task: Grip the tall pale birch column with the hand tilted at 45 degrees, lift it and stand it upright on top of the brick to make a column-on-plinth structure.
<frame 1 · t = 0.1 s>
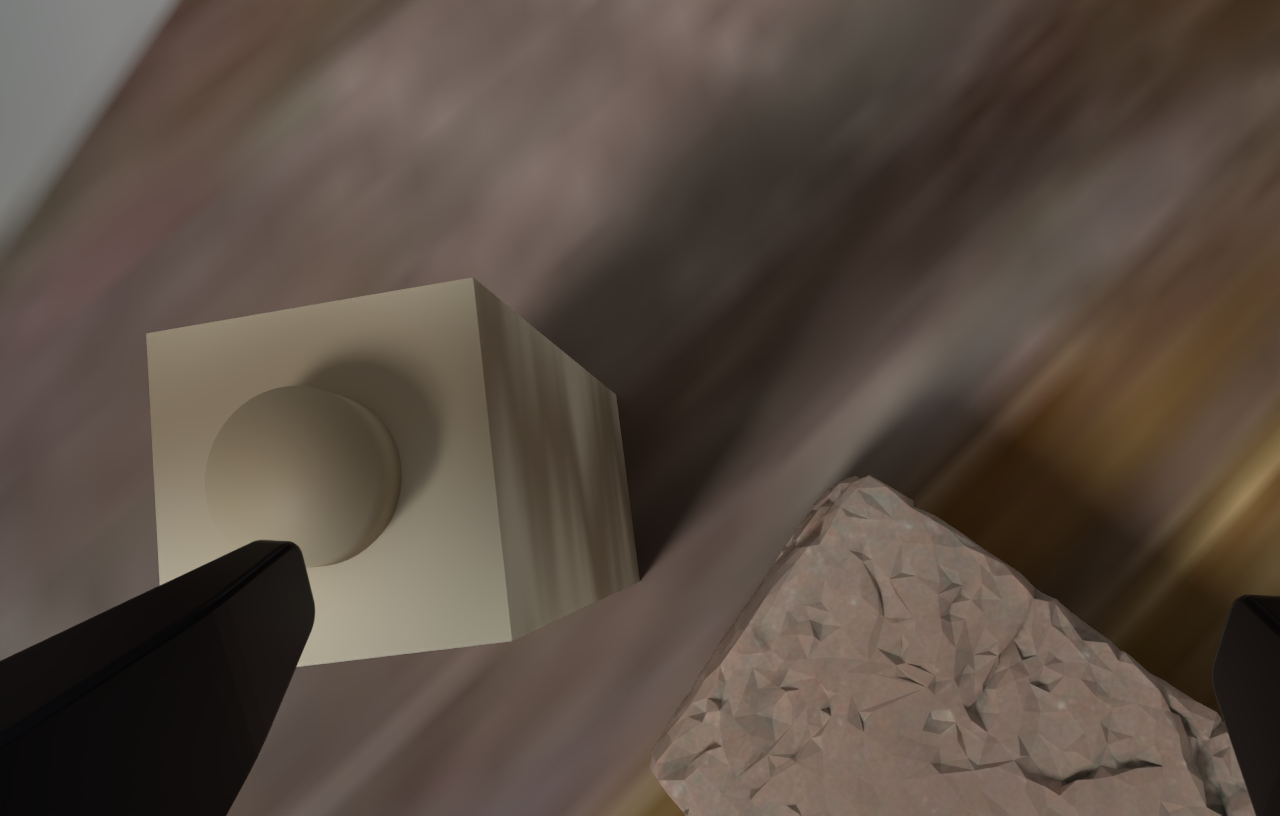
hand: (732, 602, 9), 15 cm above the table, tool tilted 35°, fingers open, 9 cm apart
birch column: (537, 499, 24), on the table
brick: (1027, 798, 22), on the table
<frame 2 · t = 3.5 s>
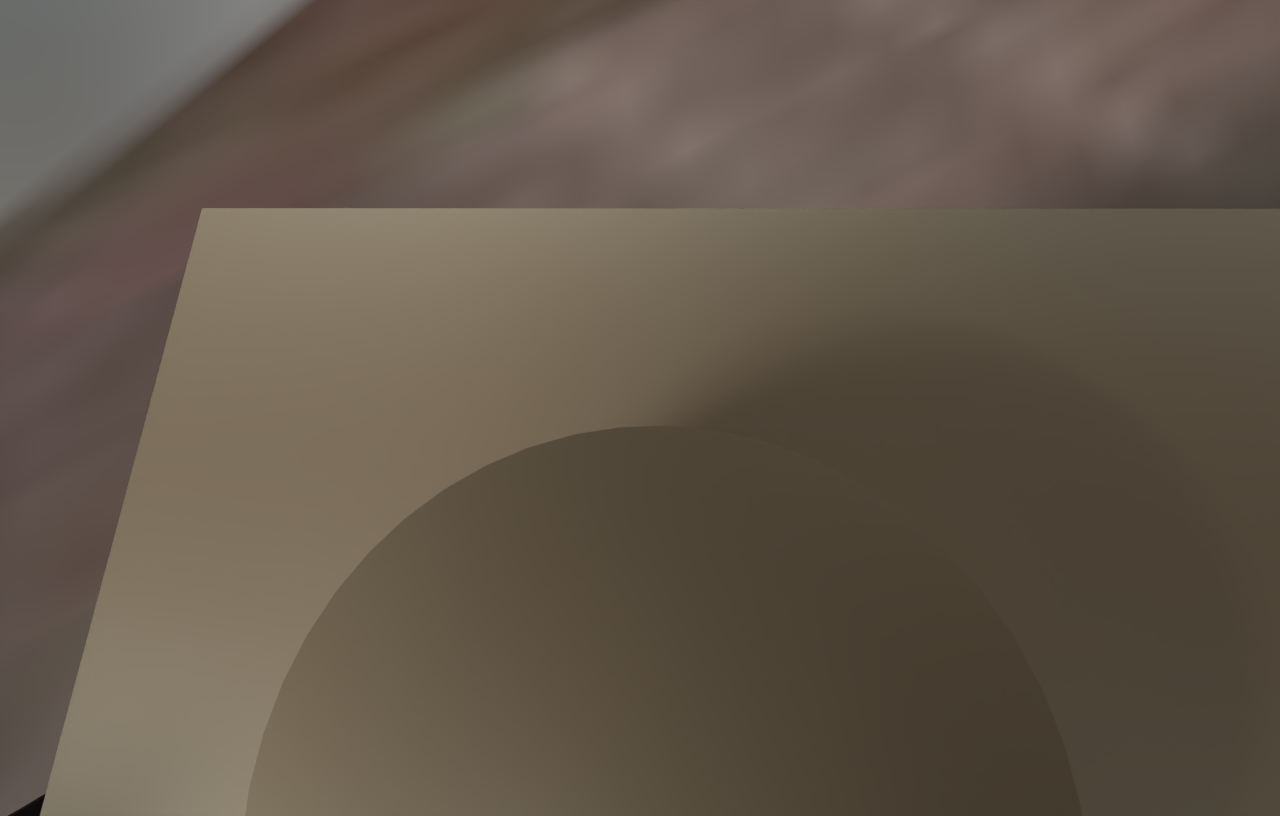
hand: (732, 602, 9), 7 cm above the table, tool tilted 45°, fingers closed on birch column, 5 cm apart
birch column: (741, 740, 15), on the table, touching gripper
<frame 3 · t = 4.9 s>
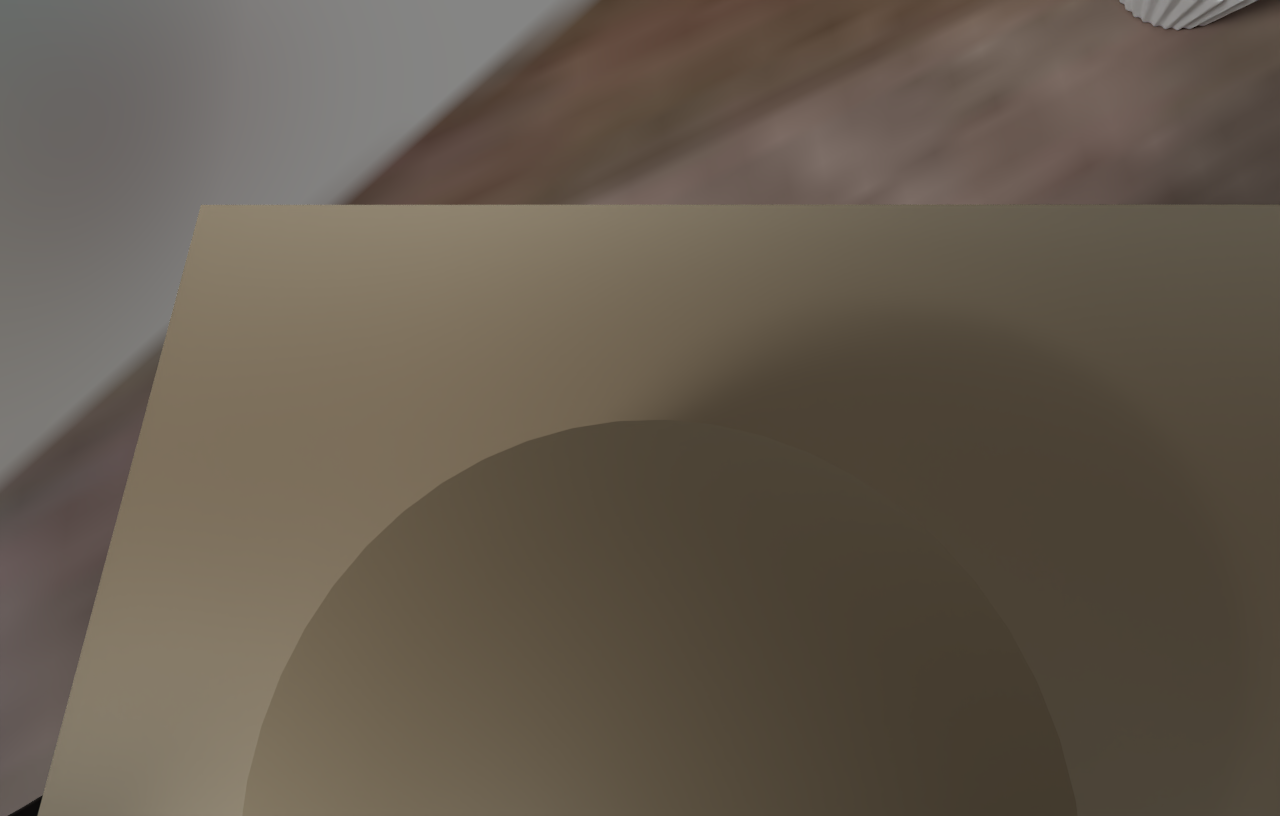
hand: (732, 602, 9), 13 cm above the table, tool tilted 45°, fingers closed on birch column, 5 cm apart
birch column: (740, 738, 15), point 7 cm above the table, touching gripper
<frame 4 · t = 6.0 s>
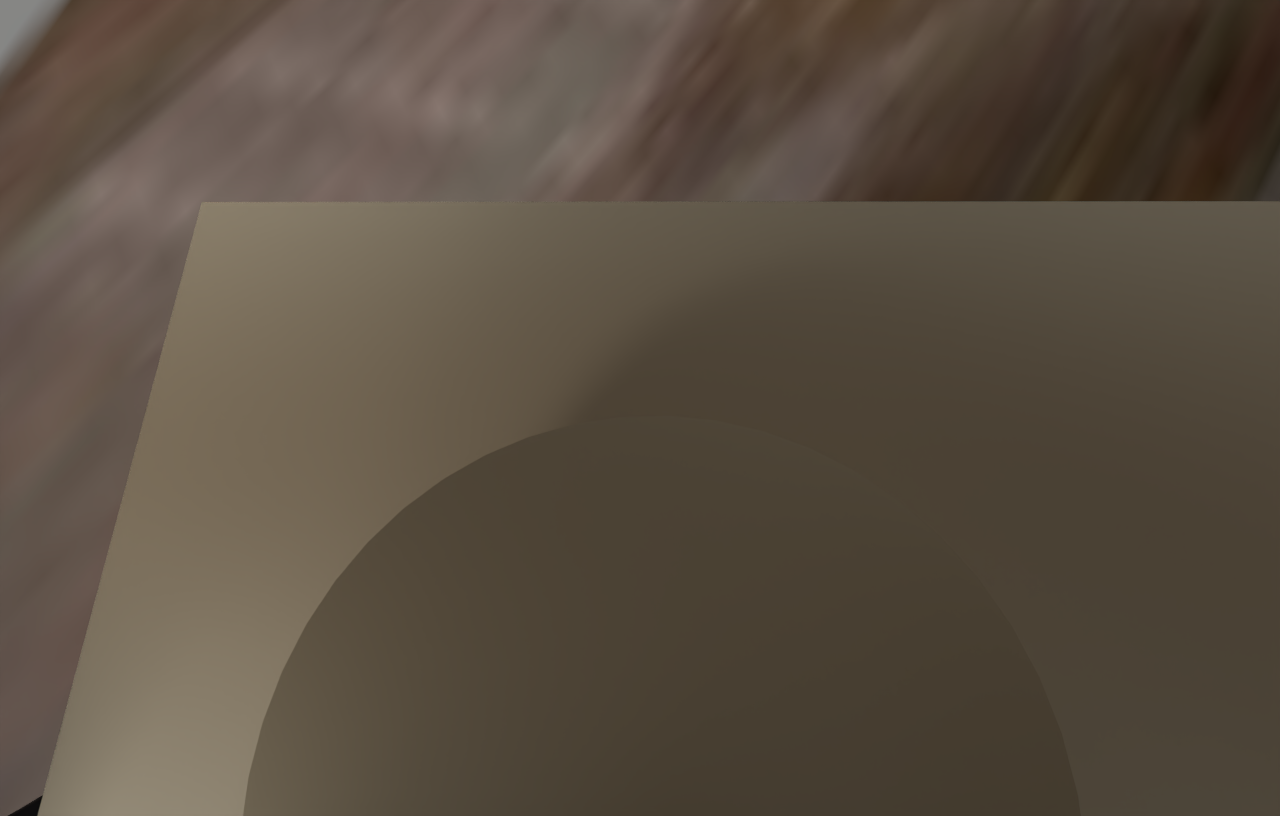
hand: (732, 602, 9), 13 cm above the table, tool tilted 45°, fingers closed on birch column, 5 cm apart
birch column: (740, 738, 15), point 7 cm above the table, touching gripper
when the fingers open (12 cm above the table, at t = 6.7 s): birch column drops 2 cm, resting on brick.
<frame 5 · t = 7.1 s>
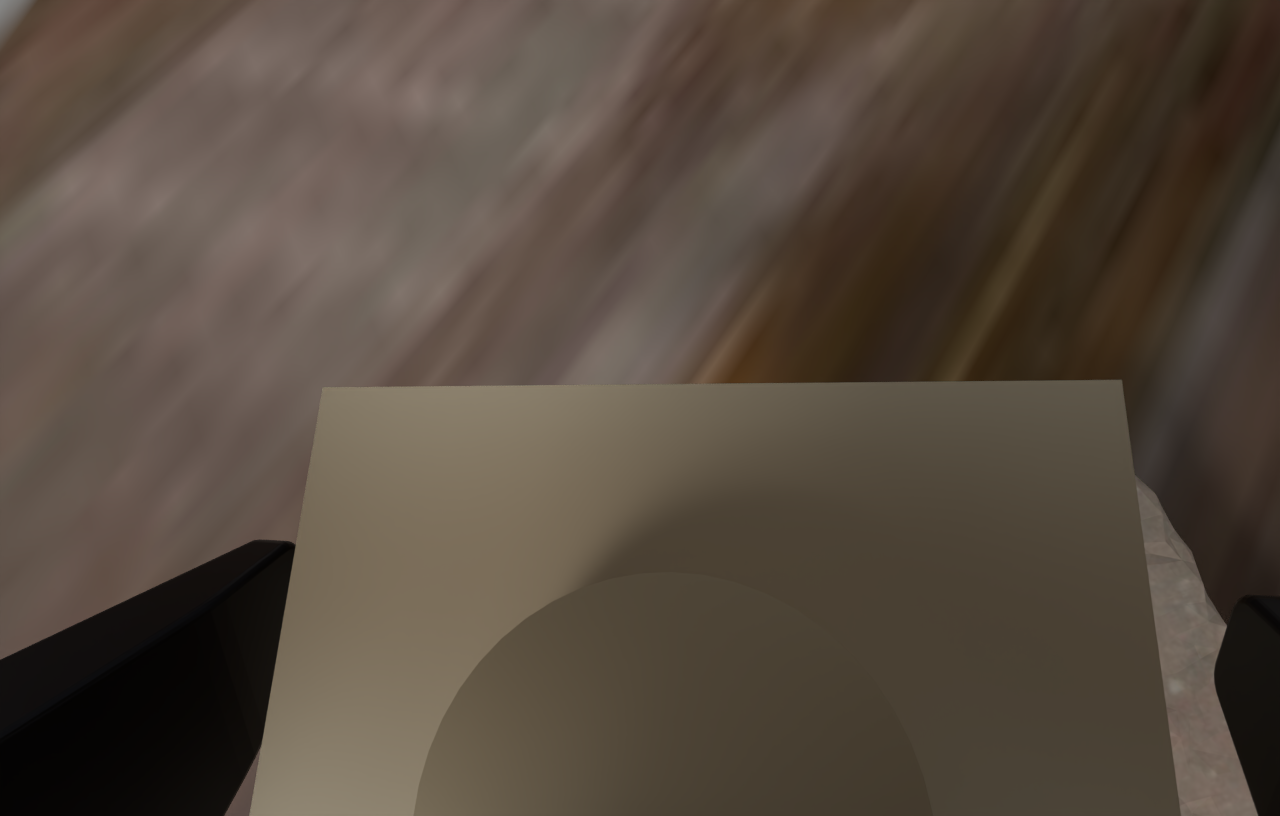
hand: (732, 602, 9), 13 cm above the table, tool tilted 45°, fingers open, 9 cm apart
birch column: (753, 752, 16), point 4 cm above the table, touching brick
brick: (821, 790, 20), on the table, touching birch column
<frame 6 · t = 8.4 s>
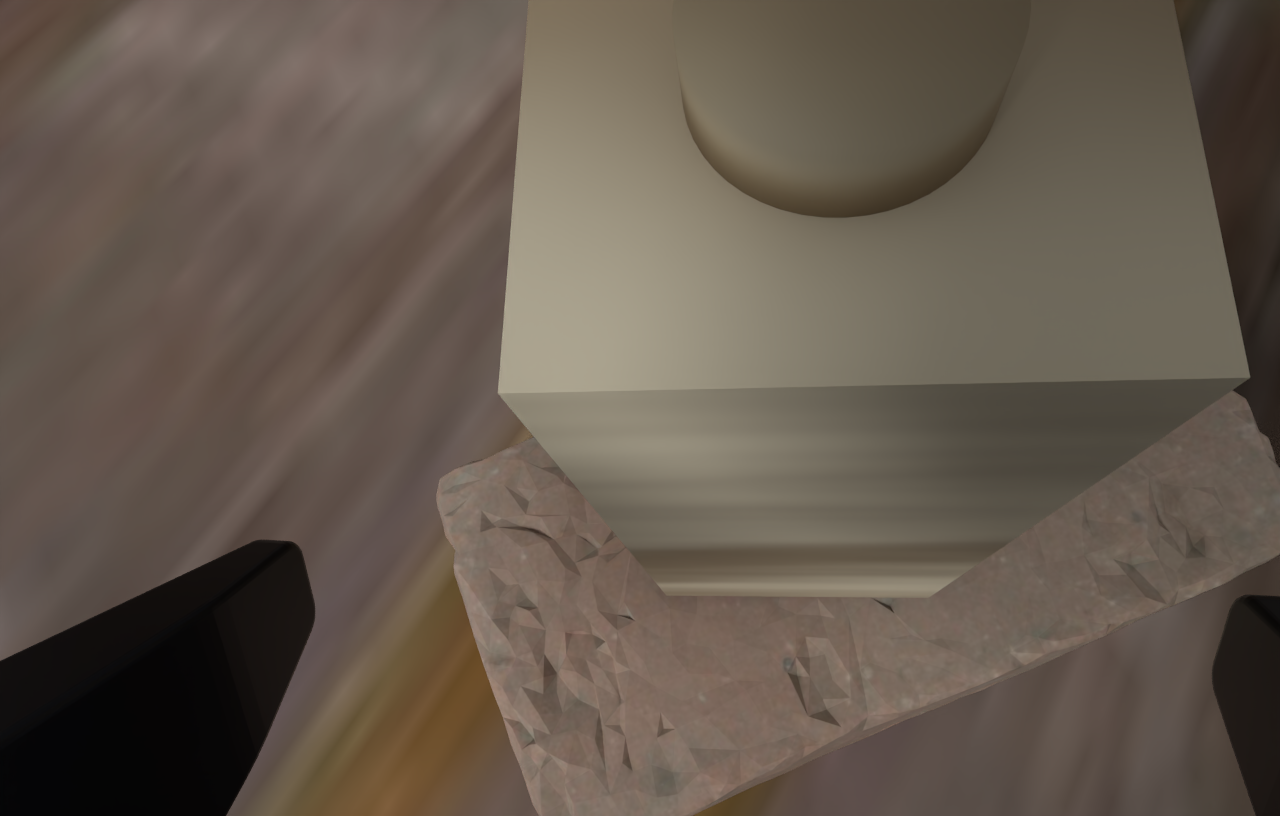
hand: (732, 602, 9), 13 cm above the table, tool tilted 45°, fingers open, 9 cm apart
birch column: (791, 471, 18), point 4 cm above the table, touching brick
brick: (836, 540, 22), on the table, touching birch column
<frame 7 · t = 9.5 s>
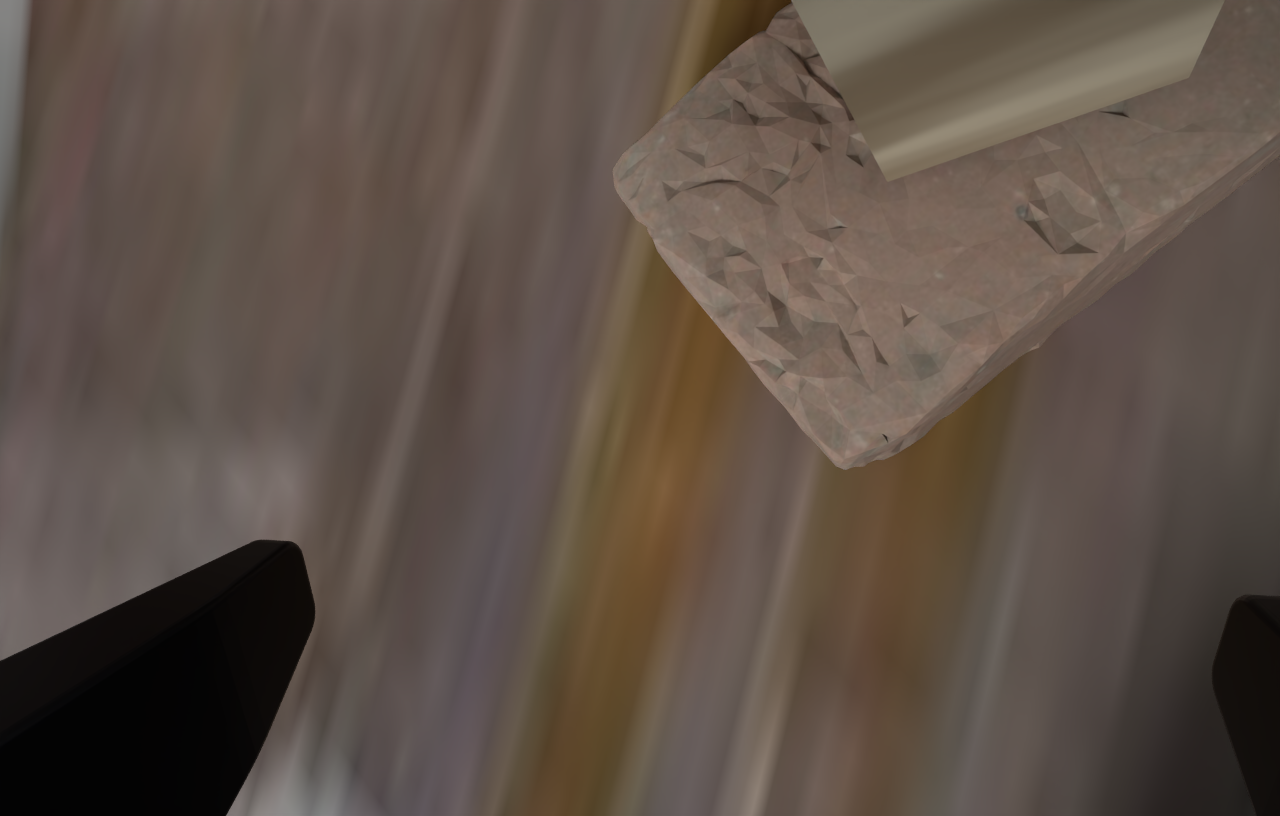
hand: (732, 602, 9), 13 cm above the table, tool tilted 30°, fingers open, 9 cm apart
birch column: (991, 3, 16), point 4 cm above the table, touching brick
brick: (1042, 102, 20), on the table, touching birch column
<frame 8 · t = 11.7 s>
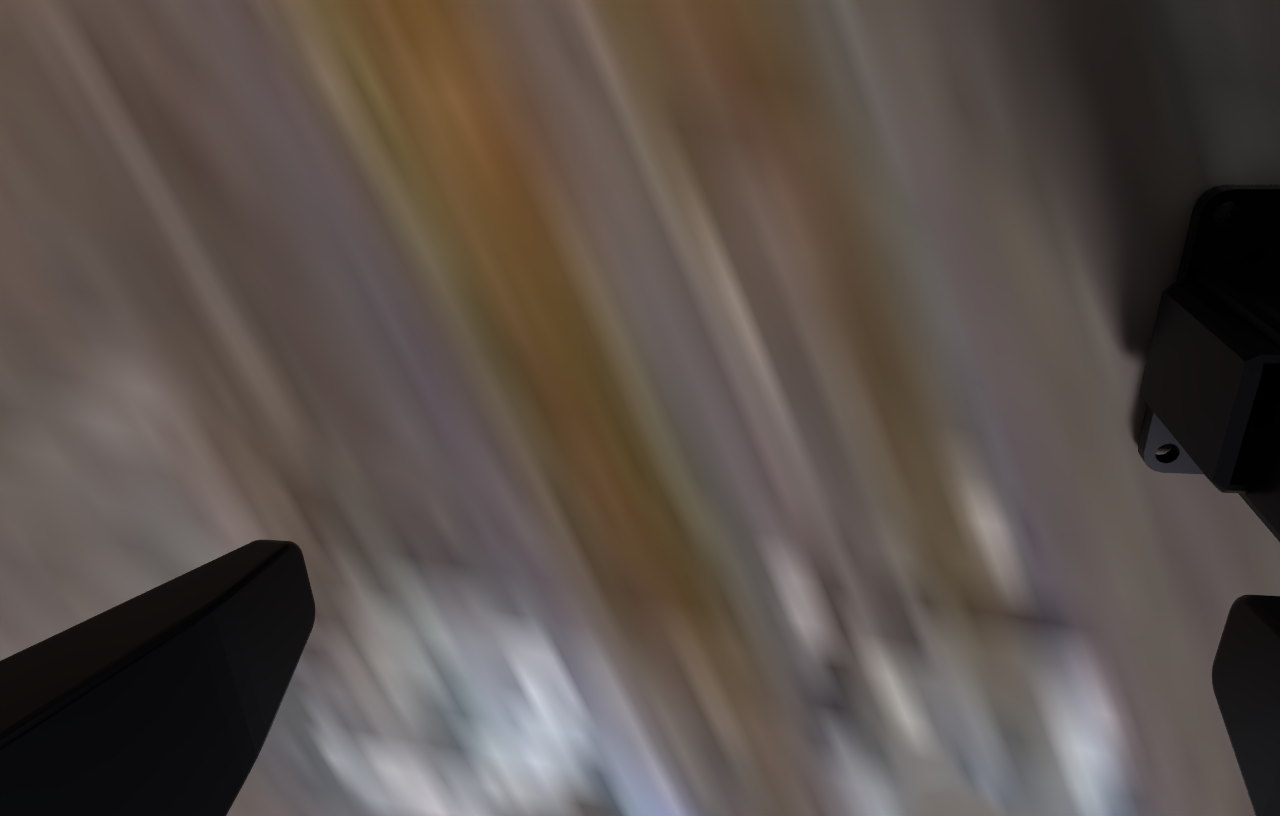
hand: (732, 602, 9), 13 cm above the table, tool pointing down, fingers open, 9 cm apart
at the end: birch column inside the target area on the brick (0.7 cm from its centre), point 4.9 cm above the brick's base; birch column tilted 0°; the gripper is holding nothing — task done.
